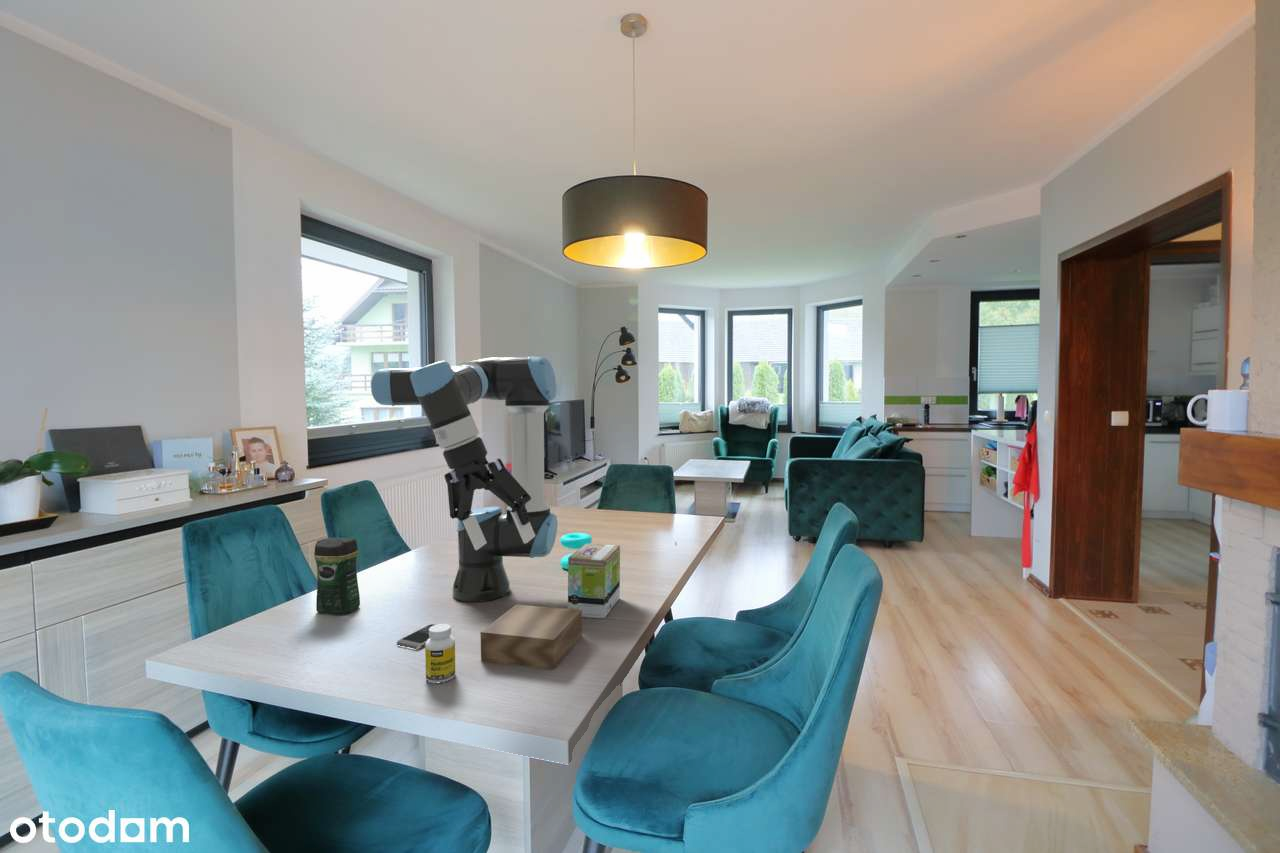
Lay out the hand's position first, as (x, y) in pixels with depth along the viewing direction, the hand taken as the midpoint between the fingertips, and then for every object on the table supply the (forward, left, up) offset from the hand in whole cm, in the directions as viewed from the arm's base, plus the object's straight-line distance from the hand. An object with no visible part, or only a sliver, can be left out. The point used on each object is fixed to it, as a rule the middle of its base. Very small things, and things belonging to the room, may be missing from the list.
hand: (504, 543), depth 111 cm
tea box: (+6, +37, -26) cm, 45 cm away
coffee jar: (-57, +20, -26) cm, 66 cm away
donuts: (-11, +69, -26) cm, 74 cm away
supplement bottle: (-11, -5, -26) cm, 28 cm away
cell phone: (-25, +10, -26) cm, 38 cm away
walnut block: (+1, +11, -25) cm, 28 cm away
